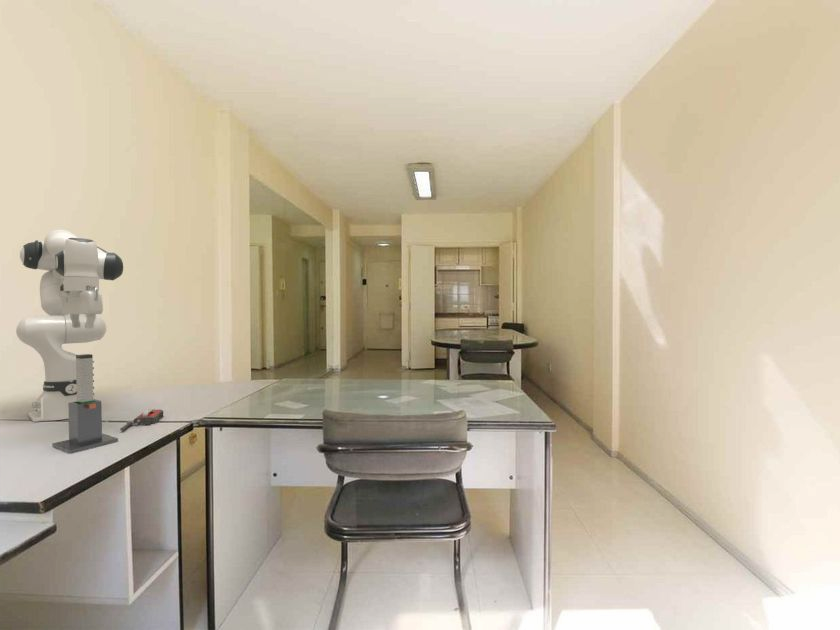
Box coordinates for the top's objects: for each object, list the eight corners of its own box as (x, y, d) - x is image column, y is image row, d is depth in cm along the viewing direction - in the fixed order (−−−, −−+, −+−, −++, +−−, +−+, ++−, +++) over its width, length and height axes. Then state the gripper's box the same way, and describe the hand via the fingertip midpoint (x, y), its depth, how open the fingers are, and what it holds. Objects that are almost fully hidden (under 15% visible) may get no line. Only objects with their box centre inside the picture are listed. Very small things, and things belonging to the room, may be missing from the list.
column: (76, 420, 122) (75, 355, 121) (90, 417, 125) (89, 353, 124) (81, 421, 120) (80, 355, 120) (95, 419, 123) (94, 354, 123)
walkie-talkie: (138, 418, 152) (117, 434, 133) (138, 406, 152) (117, 420, 133) (165, 416, 155) (148, 431, 136) (165, 405, 155) (148, 418, 136)
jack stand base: (52, 446, 120) (51, 403, 120) (99, 435, 130) (99, 395, 130) (69, 453, 114) (69, 408, 114) (118, 441, 125) (117, 400, 124)
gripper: (108, 286, 130) (109, 328, 131) (79, 287, 140) (80, 327, 140) (84, 285, 125) (85, 329, 125) (56, 286, 135) (57, 327, 135)
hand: (82, 328), depth 133 cm, fingers open, 8 cm apart
